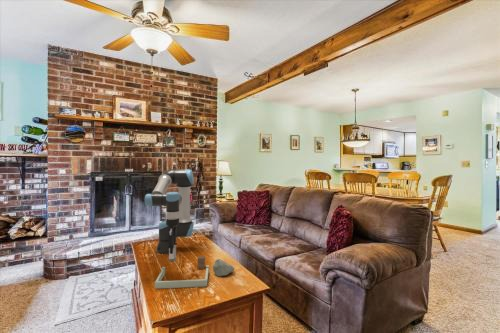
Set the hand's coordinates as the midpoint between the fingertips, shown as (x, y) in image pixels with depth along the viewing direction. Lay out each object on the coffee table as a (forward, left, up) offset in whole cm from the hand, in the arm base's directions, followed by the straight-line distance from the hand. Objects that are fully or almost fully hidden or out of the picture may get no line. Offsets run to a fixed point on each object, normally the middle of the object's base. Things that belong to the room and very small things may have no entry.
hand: (172, 257), depth 149 cm
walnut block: (-15, +16, -13) cm, 26 cm away
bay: (+2, +7, -13) cm, 15 cm away
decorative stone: (-4, +31, -13) cm, 34 cm away
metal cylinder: (0, 0, -2) cm, 2 cm away
